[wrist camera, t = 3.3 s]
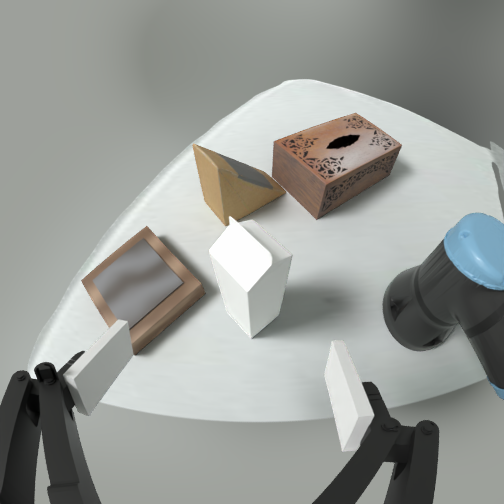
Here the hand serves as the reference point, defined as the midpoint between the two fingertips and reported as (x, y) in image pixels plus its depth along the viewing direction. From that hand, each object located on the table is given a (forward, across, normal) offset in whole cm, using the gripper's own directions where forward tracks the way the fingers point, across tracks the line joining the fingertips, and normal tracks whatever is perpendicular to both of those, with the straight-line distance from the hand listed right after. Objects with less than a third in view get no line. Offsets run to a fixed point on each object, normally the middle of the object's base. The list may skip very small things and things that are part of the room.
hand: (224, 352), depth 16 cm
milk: (+26, +1, -10) cm, 28 cm away
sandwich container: (+43, -2, +7) cm, 44 cm away
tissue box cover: (+49, +17, +14) cm, 54 cm away
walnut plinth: (+27, -19, -9) cm, 34 cm away
